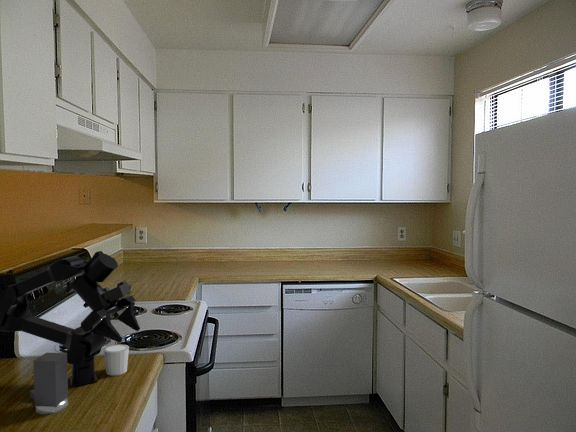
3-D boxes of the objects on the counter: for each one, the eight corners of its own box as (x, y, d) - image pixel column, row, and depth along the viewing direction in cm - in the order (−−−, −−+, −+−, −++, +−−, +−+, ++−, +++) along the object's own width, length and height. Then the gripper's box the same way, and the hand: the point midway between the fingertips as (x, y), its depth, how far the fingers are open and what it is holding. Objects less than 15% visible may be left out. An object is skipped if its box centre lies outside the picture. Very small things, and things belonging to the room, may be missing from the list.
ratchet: (72, 406, 106) (72, 392, 106) (42, 417, 101) (42, 402, 101) (50, 390, 115) (49, 376, 115) (21, 399, 110) (21, 385, 110)
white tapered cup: (111, 366, 131) (111, 343, 131) (133, 367, 130) (133, 344, 130) (99, 375, 124) (98, 351, 124) (122, 377, 124) (122, 352, 123)
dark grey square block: (47, 395, 108) (46, 352, 108) (68, 396, 108) (67, 352, 108) (34, 406, 103) (33, 360, 103) (56, 406, 103) (55, 361, 102)
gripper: (90, 280, 109) (132, 326, 108) (129, 267, 127) (165, 306, 126) (62, 309, 111) (103, 355, 109) (104, 293, 129) (139, 332, 128)
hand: (130, 335), depth 118 cm, fingers open, 9 cm apart
